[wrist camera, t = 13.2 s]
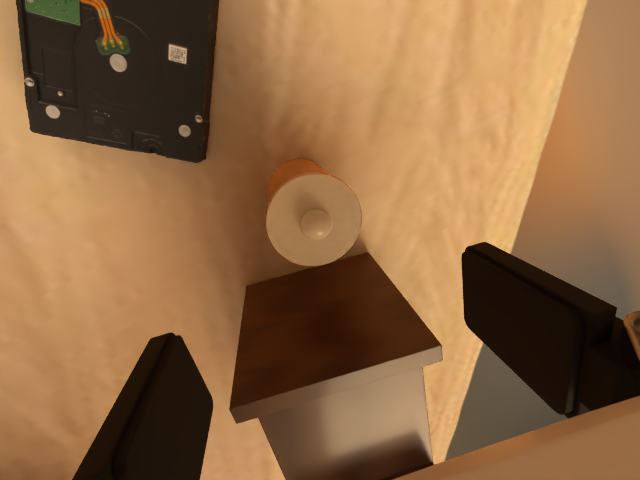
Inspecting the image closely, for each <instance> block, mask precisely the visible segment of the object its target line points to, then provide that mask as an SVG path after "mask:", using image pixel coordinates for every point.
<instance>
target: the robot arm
mask: <svg viewBox="0 0 640 480" xmlns="http://www.w3.org/2000/svg"><path fill="white" fill-rule="evenodd" d="M462 278H463V301H464V319H465V322H466V324H467V326H468V328H469V329H470V330H471V331H472V332H473V333H474V334H475V335H476V336H477V337H478V338H480V339H481V340H482V341H483V342H484V343H485V344H486V345H487V346H488V347H489V348H490V349H491V350H492V351H493V352H494V353H495V354H496V355H497V356H498V357H499V358H500V359H501V360H502V361H503V362H504V363H505V364H506V365H508V366H509V367H510V368H511V369H512V370H513V371H514V372H515V373H516V374H517V375H518V376H519V377H520V378H521V379H522V380H523V381H524V382H525V383H526V384H527V385H528V386H529V387H530V388H531V389H532V390H533V391H534V392H535V393H536V394H537V395H539V396H540V397H541V398H542V399H543V400H544V401H545V402H546V403H547V404H548V405H549V406H550V407H551V408H552V409H553V410H554V411H556V412H557V413H559V414H562V415H563V414H564V415H565V416H566V417H567V418H568V419H567V420H563V421H561V422H558V423H555V424H552V425H549V426H546V427H543V428H540V429H537V430H534V431H532V432H528V433H526V434H523V435H520V436H517V437H514V438H511V439H508V440H505V441H502V442H499V443H496V444H493V445H490V446H488V447H485V448H482V449H479V450H476V451H473V452H470V453H467V454H465V455H462V456H459V457H456V458H453V459H450V460H447V461H444V462H442V463H439V464H436V465H433V466H430V467H427V468H424V469H421V470H419V471H416V472H413V473H410V474H407V475H404V476H401V477H399V478H396V479H393V480H640V311H636V312H633V313H631V314H628V315H627V316H626V317H625V319H624V321H623V320H621V319H619V318H617V317H616V316H615V315H616V310H617V307H615V306H613V305H611V304H609V303H607V302H605V301H603V300H600V299H599V298H597V297H594V296H593V295H591V294H589V293H587V292H585V291H583V290H581V289H579V288H577V287H575V286H573V285H571V284H569V283H567V282H565V281H563V280H561V279H559V278H557V277H555V276H553V275H550V274H549V273H547V272H545V271H543V270H541V269H539V268H537V267H535V266H533V265H531V264H529V263H527V262H525V261H523V260H521V259H519V258H517V257H515V256H513V255H511V254H509V253H507V252H505V251H503V250H501V249H499V248H497V247H495V246H493V245H491V244H489V243H486V242H482V243H479V244H475V245H472V246H468V247H467V248H466V250H465V252H464V253H462ZM212 411H213V400H212V397H211V394H210V392H209V390H208V388H207V386H206V384H205V382H204V380H203V378H202V376H201V374H200V372H199V370H198V368H197V366H196V364H195V362H194V360H193V358H192V356H191V354H190V352H189V351H188V349H187V347H186V345H185V343H184V341H183V339H182V337H181V336H180V335H177V336H175V334H173V333H167V334H164V335H160V336H157V337H154V338H151V339H150V340H149V342H148V344H147V346H146V347H145V349H144V351H143V353H142V355H141V356H140V358H139V360H138V362H137V364H136V365H135V367H134V369H133V371H132V373H131V374H130V376H129V378H128V380H127V382H126V383H125V385H124V387H123V389H122V391H121V393H120V394H119V396H118V398H117V400H116V402H115V403H114V405H113V407H112V409H111V411H110V412H109V414H108V416H107V418H106V420H105V421H104V423H103V425H102V427H101V429H100V430H99V432H98V434H97V436H96V438H95V439H94V441H93V443H92V445H91V447H90V448H89V450H88V452H87V454H86V456H85V457H84V459H83V461H82V463H81V465H80V466H79V468H78V470H77V472H76V474H75V475H74V477H73V479H72V480H200V475H201V470H202V464H203V459H204V454H205V449H206V443H207V438H208V433H209V427H210V422H211V417H212Z"/></svg>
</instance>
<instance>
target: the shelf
mask: <svg viewBox="0 0 640 480" xmlns="http://www.w3.org/2000/svg"><path fill="white" fill-rule="evenodd" d="M442 360H443V358H442V345H441V344H440V342H439V341H438V340H437V339H436V337H435V336H434V335H433V333H432V332H431V331H430V330H429V328H428V327H427V326H426V325H425V323H424V322H423V321H422V320H421V318H420V317H419V316H418V314H417V313H416V312H415V311H414V309H413V308H412V307H411V306H410V304H409V303H408V302H407V300H406V299H405V298H404V297H403V295H402V294H401V293H400V292H399V290H398V289H397V288H396V287H395V285H394V284H393V283H392V281H391V280H390V279H389V278H388V276H387V275H386V274H385V273H384V271H383V270H382V269H381V267H380V266H379V265H378V264H377V262H376V261H375V260H374V259H373V257H372V256H371V255H370V254H369V253H365V254H361V255H357V256H354V257H350V258H347V259H343V260H339V261H336V262H332V263H328V264H325V265H321V266H317V267H314V268H310V269H307V270H303V271H299V272H296V273H292V274H288V275H285V276H281V277H278V278H274V279H270V280H267V281H263V282H259V283H256V284H252V285H249V286H246V292H245V299H244V306H243V314H242V321H241V328H240V335H239V343H238V350H237V357H236V365H235V372H234V379H233V386H232V394H231V401H230V408H229V410H230V412H231V414H232V416H233V418H234V420H235V422H236V423H237V424H238V423H241V422H244V421H247V420H251V419H254V418H257V417H258V419H259V421H260V423H261V425H262V428H263V430H264V432H265V434H266V437H267V439H268V441H269V443H270V446H271V448H272V450H273V452H274V455H275V457H276V459H277V461H278V464H279V466H280V468H281V470H282V473H283V475H284V477H285V479H286V480H393V479H396V478H399V477H401V476H404V475H407V474H410V473H413V472H416V471H419V470H421V469H424V468H427V467H430V466H433V465H434V464H433V458H432V449H431V440H430V431H429V422H428V413H427V404H426V395H425V386H424V377H423V368H422V367H423V366H426V365H430V364H433V363H436V362H440V361H442Z"/></svg>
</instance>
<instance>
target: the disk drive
mask: <svg viewBox="0 0 640 480" xmlns="http://www.w3.org/2000/svg"><path fill="white" fill-rule="evenodd" d="M16 5H17V10H18V24H19V30H20V31H19V34H20V42H21V51H22V63H23V71H24V79H25V83H24V85H25V97H26V106H27V110H28V118H29V123H30V130H31V131H32V132H34V133H38V134H42V135H49V136H53V137H60V138H65V139H72V140H77V141H82V142H87V143H92V144H98V145H102V146H108V147H114V148H119V149H124V150H129V151H138V152H145V153H156V154H157V155H162V156H165V157H166V158H173V159H179V160H183V161H189V162H194V163H199V162H201V161H203V160H205V159H206V149H207V142H208V136H209V116H210V103H211V91H212V79H213V65H214V50H215V40H216V30H217V17H218V6H219V0H16Z"/></svg>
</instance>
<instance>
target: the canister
mask: <svg viewBox="0 0 640 480" xmlns="http://www.w3.org/2000/svg"><path fill="white" fill-rule="evenodd" d="M361 222H362V214H361V208H360V204H359V202H358V199H357V197H356V196H355V194H354V192H353V191H352V190H351V189H350V188H349V187H348V186H347V185H346V184H345V183H344V182H342V181H341V180H340V179H338V178H336V177H334V176H332V175H329V174H328V173H327V172H326V171H324V170H323V169H322V168H321V167H320V166H318V165H317V164H315V163H314V162H312V161H309V160H305V159H294V160H290V161H287V162H285V163H283V164H282V165H280V166H279V167H278V168H277V169H276V170H275V172H274V173H273V175H272V177H271V179H270V182H269V204H268V207H267V212H266V229H267V234H268V237H269V239H270V242H271V243H272V245H273V247H274V248H275V249H276V251H277V252H278V253H279V254H280V255H282V256H283V257H284V258H286V259H287V260H289V261H291V262H293V263H296V264H299V265H303V266H320V265H325V264H328V263H331V262H333V261H335V260H337V259H339V258H340V257H342V256H343V255H344V254H345V253H346V252H347V251H348V250H349V249H350V248H351V247H352V246H353V244H354V243H355V241H356V239H357V237H358V235H359V232H360V228H361Z"/></svg>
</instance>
